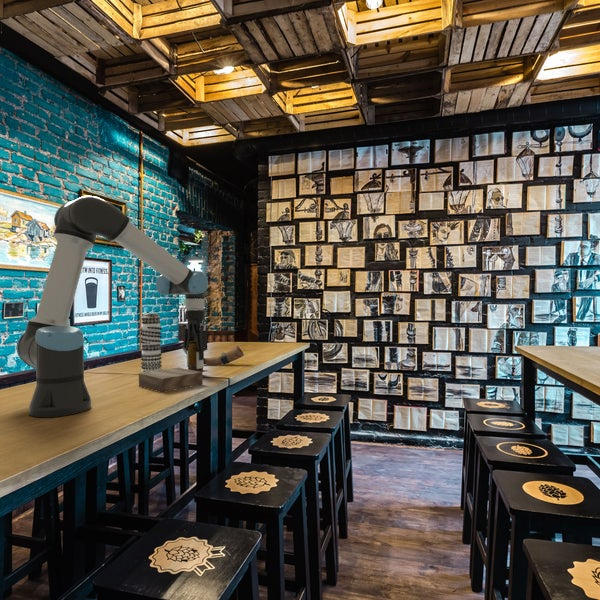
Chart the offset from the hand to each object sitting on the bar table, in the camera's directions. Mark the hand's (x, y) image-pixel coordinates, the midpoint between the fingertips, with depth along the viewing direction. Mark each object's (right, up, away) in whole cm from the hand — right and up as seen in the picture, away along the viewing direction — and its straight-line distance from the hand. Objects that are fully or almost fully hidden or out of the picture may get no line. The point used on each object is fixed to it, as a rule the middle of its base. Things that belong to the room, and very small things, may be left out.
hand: (195, 367), depth 166 cm
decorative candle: (-23, -4, +16) cm, 28 cm away
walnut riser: (-4, -4, -17) cm, 18 cm away
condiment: (+1, -2, -1) cm, 2 cm away
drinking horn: (+1, -4, +28) cm, 28 cm away
